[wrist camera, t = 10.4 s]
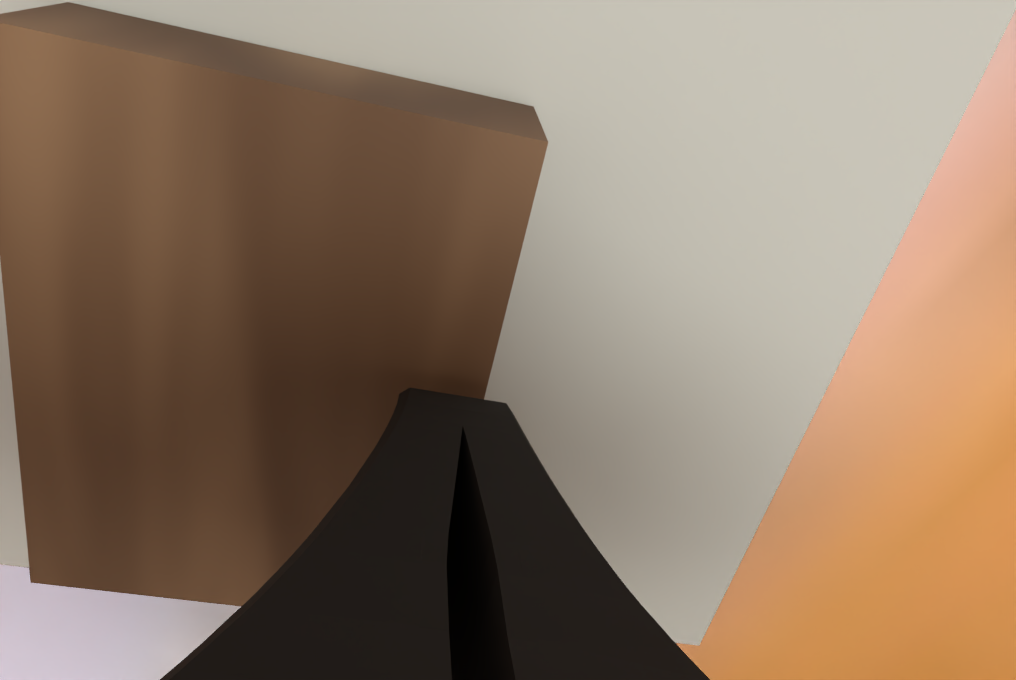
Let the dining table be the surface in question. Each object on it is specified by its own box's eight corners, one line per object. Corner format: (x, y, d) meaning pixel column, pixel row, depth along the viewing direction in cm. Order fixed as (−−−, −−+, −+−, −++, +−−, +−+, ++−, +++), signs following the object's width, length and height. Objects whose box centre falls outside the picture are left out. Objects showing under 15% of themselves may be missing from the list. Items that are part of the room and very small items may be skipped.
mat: (1139, -299, 9) (1175, -312, 8) (692, 626, 16) (699, 645, 16) (-417, -849, 7) (-481, -905, 6) (-122, 528, 14) (-142, 547, 13)
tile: (548, 141, 9) (-24, 17, 8) (426, 627, 12) (30, 581, 11) (533, 105, 10) (70, 2, 9) (431, 537, 14) (90, 492, 13)
